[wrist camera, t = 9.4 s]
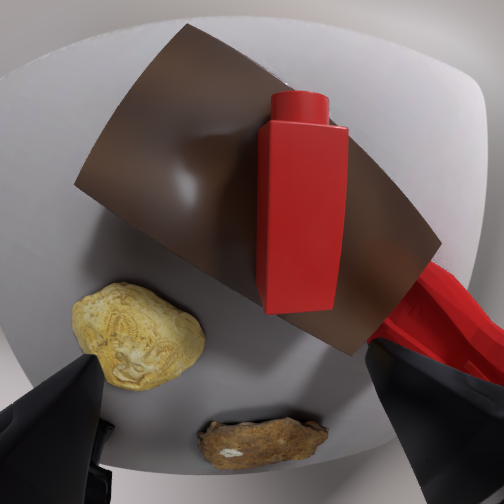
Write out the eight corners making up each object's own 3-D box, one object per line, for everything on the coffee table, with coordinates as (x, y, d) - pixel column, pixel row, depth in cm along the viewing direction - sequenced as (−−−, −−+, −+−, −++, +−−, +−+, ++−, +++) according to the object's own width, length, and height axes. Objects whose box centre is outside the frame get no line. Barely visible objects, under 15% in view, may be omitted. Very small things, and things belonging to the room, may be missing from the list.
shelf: (319, 305, 21) (351, 356, 15) (119, 174, 16) (73, 184, 10) (387, 218, 20) (442, 243, 14) (197, 66, 15) (187, 22, 8)
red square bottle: (312, 281, 13) (333, 310, 11) (255, 284, 13) (265, 316, 10) (321, 107, 10) (349, 95, 8) (258, 101, 10) (269, 85, 8)
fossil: (136, 311, 13) (205, 420, 17) (176, 261, 18) (221, 364, 22) (36, 319, 15) (99, 406, 19) (76, 282, 21) (124, 364, 24)
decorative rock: (322, 385, 25) (185, 411, 25) (333, 412, 22) (181, 439, 21) (326, 437, 29) (217, 458, 29) (334, 460, 25) (216, 482, 25)
